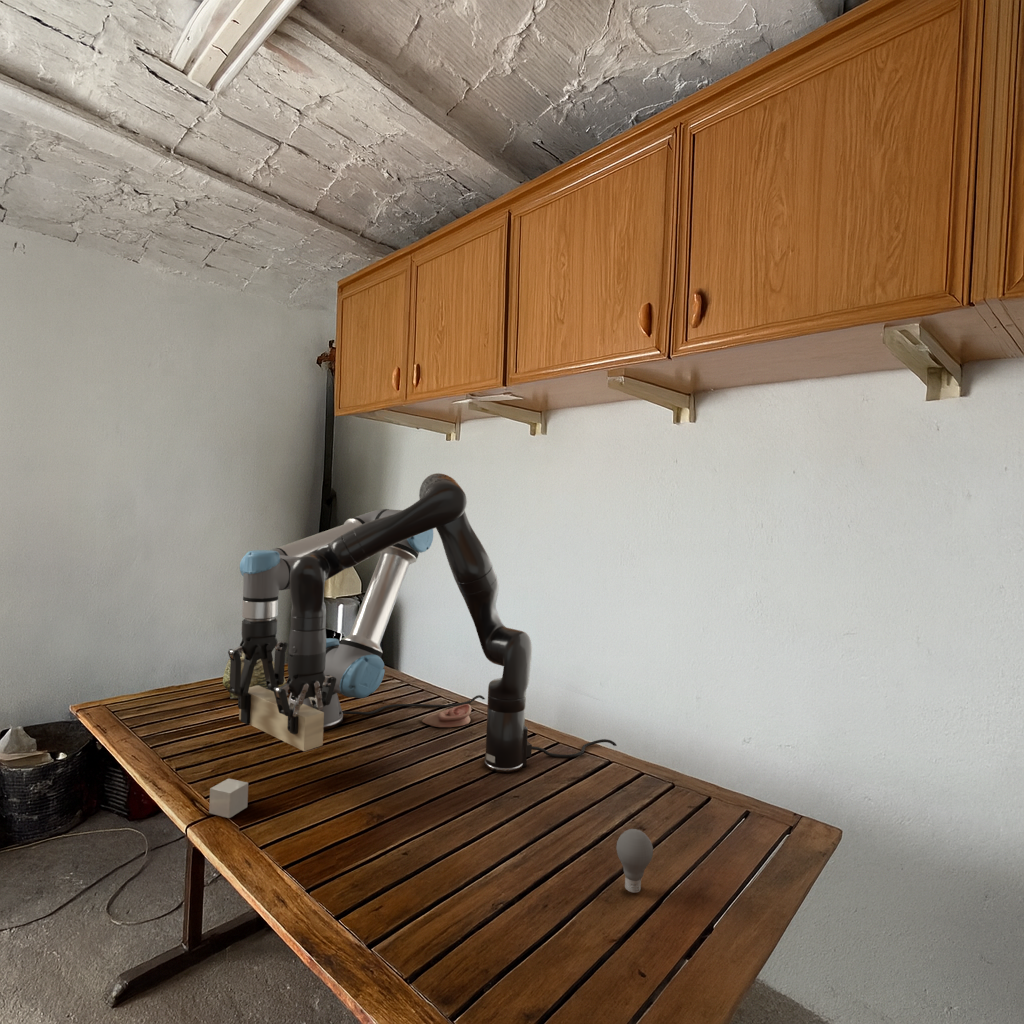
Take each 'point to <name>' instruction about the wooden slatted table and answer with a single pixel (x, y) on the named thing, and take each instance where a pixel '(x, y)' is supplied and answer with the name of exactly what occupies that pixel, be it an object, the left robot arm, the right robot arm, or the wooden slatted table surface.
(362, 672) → the left robot arm
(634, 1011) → the wooden slatted table surface
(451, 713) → the anatomical model
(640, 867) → the light bulb
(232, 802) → the grey block
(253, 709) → the ash bar
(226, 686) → the fossil
